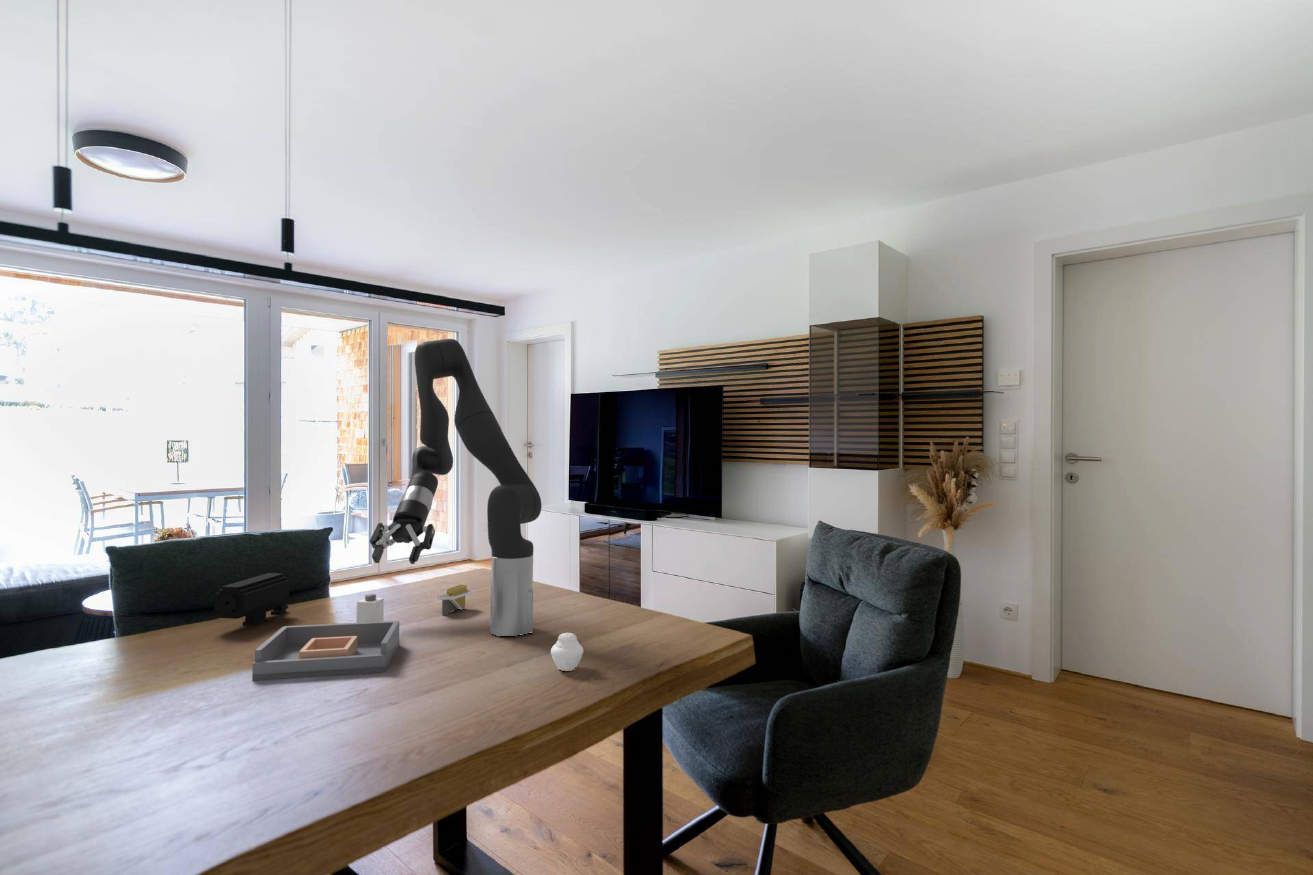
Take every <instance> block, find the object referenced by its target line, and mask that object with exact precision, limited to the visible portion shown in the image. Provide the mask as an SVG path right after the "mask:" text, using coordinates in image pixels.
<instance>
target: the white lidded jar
mask: <svg viewBox="0 0 1313 875" xmlns="http://www.w3.org/2000/svg"><path fill="white" fill-rule="evenodd" d="M550 654H551V656H552V658H551V659H552V660H553V662H554V664H555V666H556V668H557V670H558V669H562V670H569V669H574V668H575V667H576V668H577V667H578V665H579V663H580V661H581V660H582V657H583V654H584V647H583V646H582V645H581V644H580V642H579V640H578V638H577V635H576V634H575V633H571V632H563V633H561V634H559V635H558V637H557V641H556V642H555V643H554V645H552V647H551V649H550Z"/></svg>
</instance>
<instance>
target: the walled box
mask: <svg viewBox="0 0 1313 875" xmlns="http://www.w3.org/2000/svg"><path fill="white" fill-rule="evenodd" d="M399 646H400V620H387V621H384V620H383V622H363V623H357V622H349V623H348V622H345V623H323V624H305V625H303V624H301V625H285V626H281V628H279V629H278V630H277V631H276V632H275V633H274V634H272V636H270V637H269V638H268V639H267V640H265V641H264V642H263V643H262V644H261V645H259V646H258V647H257V648H256V649H254V661H253V662H252V668H251V669H252V671H251V672H252V677H251V678H252V681H261V680H262V681H263V680H276V679H277V680H279V679H294V678H295V679H296V678H311V677H322V676H324V677H325V676H327V677H328V676H338V675H339V676H340V675H356V674H371V673H383V672H384V673H385V672H386V671H387V669H388V667H389V665H390V663H391V661H392V659H393V657H394V656H395V653H396V652H397V649H398V648H399Z"/></svg>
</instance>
